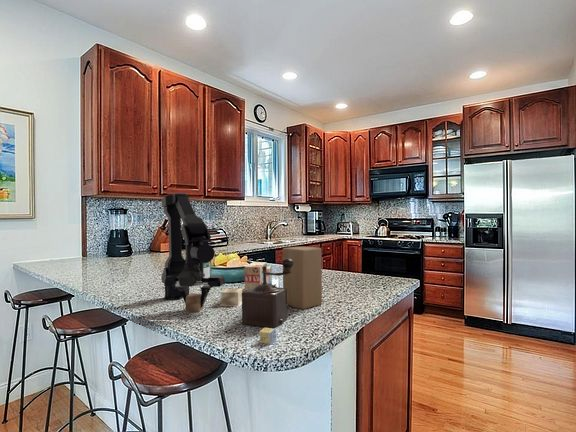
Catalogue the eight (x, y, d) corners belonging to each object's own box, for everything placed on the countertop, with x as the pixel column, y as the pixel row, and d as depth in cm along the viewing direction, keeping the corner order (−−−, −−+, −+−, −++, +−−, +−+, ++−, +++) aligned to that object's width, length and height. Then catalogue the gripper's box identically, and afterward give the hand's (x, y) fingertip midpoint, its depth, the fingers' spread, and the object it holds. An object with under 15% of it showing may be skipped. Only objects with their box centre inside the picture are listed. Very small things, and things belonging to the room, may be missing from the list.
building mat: (202, 310, 112) (202, 309, 112) (215, 299, 127) (215, 298, 127) (240, 311, 111) (240, 309, 111) (249, 300, 126) (249, 298, 126)
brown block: (185, 311, 109) (185, 296, 109) (189, 308, 113) (190, 293, 113) (198, 312, 109) (199, 297, 109) (203, 309, 113) (203, 294, 113)
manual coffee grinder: (275, 329, 93) (274, 264, 93) (240, 324, 97) (240, 262, 97) (296, 314, 107) (296, 257, 107) (265, 311, 111) (265, 256, 111)
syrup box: (202, 284, 155) (202, 253, 155) (193, 283, 159) (193, 252, 159) (211, 282, 160) (211, 252, 160) (202, 281, 163) (202, 251, 163)
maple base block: (221, 305, 117) (221, 292, 117) (226, 300, 123) (226, 288, 123) (238, 305, 117) (238, 292, 117) (242, 301, 123) (242, 288, 123)
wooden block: (301, 299, 126) (301, 246, 126) (322, 304, 119) (322, 247, 119) (282, 304, 119) (282, 248, 119) (303, 310, 112) (302, 249, 112)
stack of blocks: (258, 286, 151) (258, 259, 151) (272, 287, 150) (271, 259, 150) (244, 297, 130) (244, 266, 130) (260, 298, 129) (260, 266, 129)
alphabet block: (270, 345, 82) (270, 332, 82) (259, 343, 83) (259, 330, 83) (276, 340, 85) (276, 328, 85) (265, 338, 86) (265, 327, 86)
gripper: (155, 262, 104) (156, 313, 104) (214, 263, 102) (214, 314, 102) (171, 258, 115) (171, 303, 115) (224, 258, 114) (225, 304, 113)
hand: (194, 306), depth 111 cm, fingers closed on brown block, 5 cm apart
